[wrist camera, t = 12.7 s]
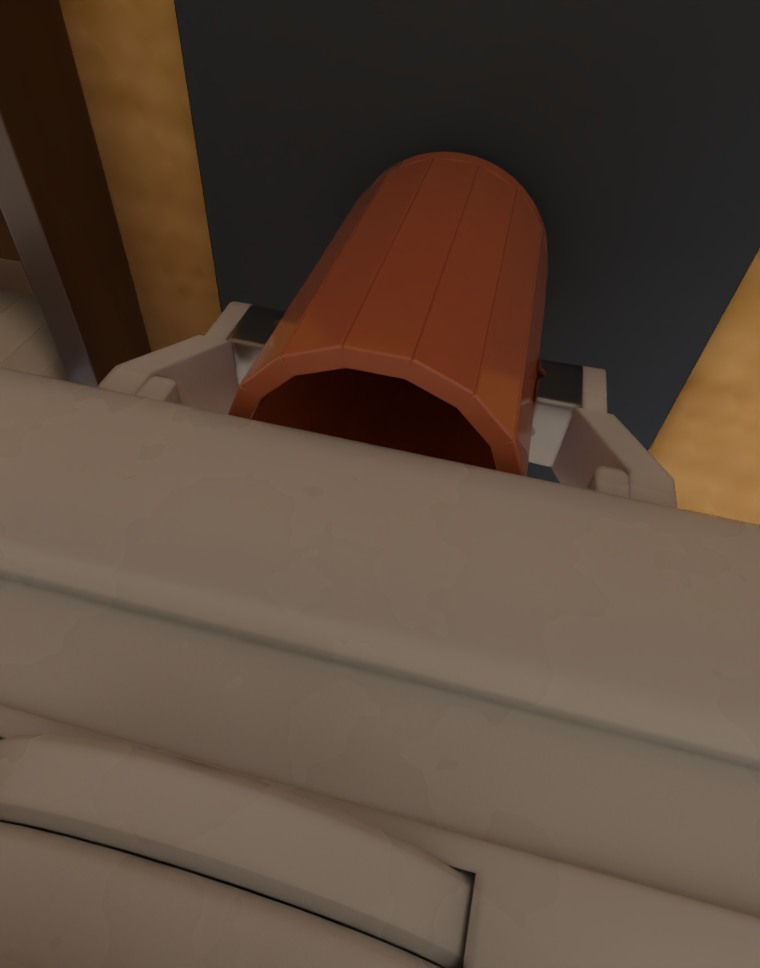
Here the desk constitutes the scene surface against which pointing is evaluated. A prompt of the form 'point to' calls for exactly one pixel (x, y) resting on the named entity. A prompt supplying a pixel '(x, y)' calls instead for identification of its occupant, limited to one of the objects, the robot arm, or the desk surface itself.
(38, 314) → the cream tumbler
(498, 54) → the slate mat
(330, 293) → the terracotta tumbler
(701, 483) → the desk surface
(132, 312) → the cup holder
